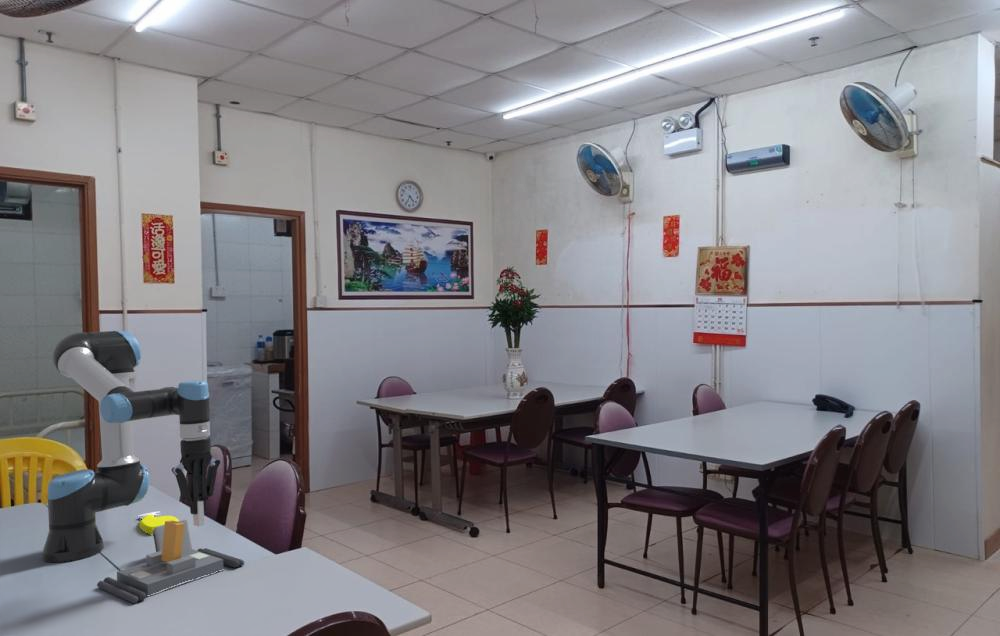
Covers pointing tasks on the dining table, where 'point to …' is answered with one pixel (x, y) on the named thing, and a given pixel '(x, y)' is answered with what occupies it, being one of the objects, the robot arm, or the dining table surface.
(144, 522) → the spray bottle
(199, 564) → the breaker panel
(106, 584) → the cable bundle
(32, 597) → the dining table surface
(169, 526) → the lever
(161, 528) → the electrical switch
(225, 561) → the cable bundle
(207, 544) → the dining table surface
